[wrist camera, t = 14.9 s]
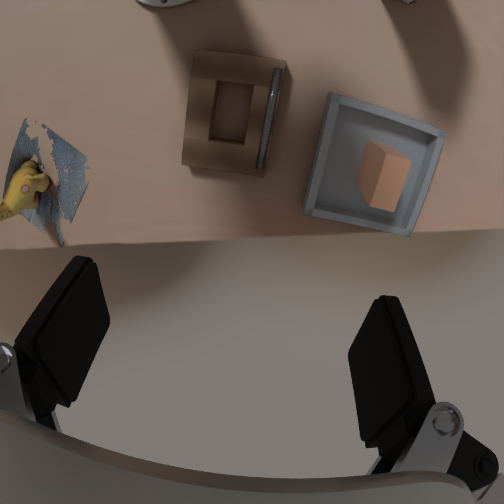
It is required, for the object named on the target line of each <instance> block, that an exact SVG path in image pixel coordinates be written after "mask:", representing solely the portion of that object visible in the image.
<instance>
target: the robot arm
mask: <svg viewBox="0 0 504 504" xmlns="http://www.w3.org/2000/svg"><path fill="white" fill-rule="evenodd" d="M138 1H140V2H142V3H144V4H146V5H149V6H153V7H165V8H168V7H175V6H180V5H183V4H187V3H189V2H191V1H194V0H168V1H167V2H166V3H165V1H166V0H138ZM109 325H110V316H109V312H108V309H107V305H106V301H105V297H104V294H103V289H102V285H101V281H100V277H99V272H98V268H97V265H96V263H94V262H93V260H92V259H91V258H90V257H84V256H75V257H73V259H72V260H71V261H70V263H69V264H68V265H67V266H66V268H65V269H64V270H63V272H62V273H61V274H60V275H59V277H58V278H57V279H56V281H55V282H54V284H53V285H52V286H51V288H50V289H49V290H48V292H47V293H46V295H45V296H44V297H43V299H42V300H41V302H40V303H39V304H38V306H37V307H36V309H35V310H34V312H33V313H32V315H31V316H30V318H29V319H28V321H27V322H26V324H25V325H24V327H23V328H22V330H21V332H20V333H19V335H18V336H17V338H16V339H15V344H14V346H13V347H12V346H11V345H10V344H8V343H4V342H1V343H0V504H504V475H503V474H502V473H500V474H498V470H499V464H498V460H497V457H496V455H495V454H494V453H493V452H492V451H491V450H490V449H489V448H487V447H486V446H484V445H483V444H482V443H480V442H479V441H477V440H476V439H475V438H473V437H472V436H470V435H469V434H468V433H466V432H465V431H464V430H463V429H464V419H463V417H462V414H461V412H460V411H459V409H458V408H457V407H455V406H454V405H453V404H450V403H448V402H439V403H436V401H435V398H434V394H433V391H432V388H431V385H430V382H429V379H428V375H427V373H426V369H425V367H424V364H423V361H422V358H421V355H420V352H419V349H418V347H417V344H416V341H415V339H414V336H413V333H412V331H411V328H410V325H409V323H408V320H407V318H406V315H405V313H404V310H403V308H402V306H401V303H400V301H399V299H398V297H396V296H386V295H382V296H380V297H379V298H378V299H375V300H374V302H373V303H372V306H371V308H370V310H369V312H368V314H367V316H366V318H365V320H364V322H363V324H362V326H361V328H360V330H359V332H358V334H357V335H356V337H355V339H354V341H353V343H352V345H351V347H350V349H349V352H348V360H349V366H350V372H351V378H352V384H353V389H354V396H355V402H356V409H357V416H358V423H359V430H360V437H361V440H362V441H365V446H366V448H374V447H378V451H379V456H378V458H377V459H376V461H375V462H374V464H373V465H372V467H371V468H370V470H369V471H368V472H367V474H366V475H363V476H350V477H335V478H306V479H291V478H262V477H247V476H235V475H226V474H218V473H211V472H204V471H197V470H190V469H185V468H179V467H175V466H170V465H164V464H160V463H155V462H152V461H147V460H143V459H139V458H135V457H132V456H128V455H125V454H121V453H118V452H114V451H111V450H108V449H104V448H102V447H98V446H95V445H92V444H90V443H87V442H84V441H81V440H79V439H76V438H73V437H70V436H68V435H65V434H63V433H62V431H61V429H60V426H59V423H58V420H57V417H56V413H55V410H54V409H55V407H56V404H60V405H62V406H65V407H67V408H69V407H70V405H71V402H74V401H76V399H77V397H78V395H79V392H80V390H81V387H82V385H83V383H84V380H85V378H86V376H87V373H88V371H89V369H90V367H91V364H92V362H93V360H94V358H95V355H96V353H97V351H98V349H99V347H100V345H101V342H102V340H103V338H104V336H105V334H106V332H107V330H108V328H109Z"/></svg>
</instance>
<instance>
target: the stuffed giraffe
mask: <svg viewBox="0 0 504 504" xmlns="http://www.w3.org/2000/svg"><path fill="white" fill-rule="evenodd" d="M26 120H27V118H26V119H25V120H24V122H23V124H22V127H21V129H20V132H19V135H18V138H17V141H16V143H15V146H14V149H13V152H12V156H11V159H10V163H9V167H8V173H7V176H6V181H5V188H4V193H3V198H4V199H3V202H2V204H1V205H0V220H4V219H7V218H10V217H12V216H15V215H17V214H21V215H22V216H23V217H25V218H26V219H27V220H28V221H29V222H30V223H31V224H33V225H34V222H35V226H37V227H38V229H39V228H40V229H41V231H42V233H43V234H44V233H45V231H44V230H43V229H44V228H43V226H44V224H45V223H44V222H45V220H44V219H46V217H47V219H48V216H49V214H50V217H49V219H50V218H51V220H50V222H52V223H53V224H54V226H55V231H56V233H57V237H58V243H59V244H60V246H61V247H62V244H63V242H64V239H63V237H62V233H61V231H60V226H59V221H58V217H59V218H61V217H62V216H63V214H62V212H61V210H60V209H59V208H60V207H58V206H57V205H56V202H57V200H58V202H60V204H61V208H62V211H63V212H64V214H65V215H64V218H65V219H67V220H68V219H70V222H71V221H72V218H73V216H74V214H75V211H76V207H78V204H79V202H80V199H81V197H82V195H83V193H84V191H85V189H86V187H87V184H88V183H87V184H86V185H85V184H84V183H85V175H84V171H85V169H89V168H90V167H89V166H87V168H85V167H84V163H85V162H87V161H86V160H87V159H86V156H84V155H83V154H82V153H80V152H78V151H76V150H75V149H74V148H73V147H72V146H71V145H69V144H68V143H67V142H66V141H64V140H63V139H61V138H60V137H58V136H57V135H56V134H55V133H54V132H52V131H51V130H50V129H49V128H47V134H48V136H49V139H50V140H51V138H52V139H53V143H54V144H53V145H52V146H53V149H54V150H53V151H54V152H53V151H52V153H51V155H52V154H53V158H55V159H54V160H53V161H55V166H56V169H57V170H59V172H58V171H57V173H58V176H59V180H60V181H59V183H60V185H59V186H58V187H55V188H58V189H57V193H56V194H57V195H58V196H57V197H58V198H57V200H56V201H55V199H56V197H55V198H54V195H53V193H52V191H51V194H50V195H51V202H50V201H49V198H45V197H46V195H45V191H46V190H48V188H49V186H51V180H50V178H49V177H48V176H47V175H46V174H45V173H43V172H38V165H40V166H41V165H42V161H41V157H40V154H39V150H40V148H39V149H38V147H37V146H38V141H39V140H37V139H38V137H37V138H35V139H31V141H30V137H28V135H27V134H26V132H25V131H26V128H27V127H29V125H28V124H27V123H26ZM35 123H36V121H35ZM41 127H43V128H44V129H45V127H46V126H44V124H43V125H42V126H41ZM33 152H34V153H35V154H36V155H37V158H38V165H37V163H36V162H35V161H33V160H30V159H31V158H32V157H33V155H34V153H33ZM32 154H33V155H32ZM62 162H64V164H63V163H62ZM43 165H44V164H43ZM65 165H66V168H65V167H64V166H65ZM62 166H63V167H62ZM69 167H71V169H70V168H69ZM43 168H44V167H43ZM67 168H68V169H69V170H67V171H68V173H67V172H66V173H64V172H63V170H64V169H67ZM64 171H65V170H64ZM69 171H70V172H69ZM61 172H62V174H61ZM68 174H69V175H68ZM61 175H62V176H61ZM64 175H66V176H67V177H65V176H64ZM62 177H63V178H62ZM65 178H66V180H68V182H66V180H65V181H64V180H63V179H65ZM69 179H70V180H69ZM62 182H63V183H62ZM64 184H65V185H64ZM67 185H68V188H67ZM59 187H60V188H59ZM50 189H51V188H50ZM47 196H48V195H47ZM74 201H76V204H75V203H74ZM58 202H57V204H58ZM51 203H52V204H51ZM55 205H56V206H57V207H56V206H55ZM58 205H59V204H58ZM27 217H28V218H27ZM47 219H46V220H47ZM33 220H34V221H33ZM32 221H33V222H32ZM48 223H49V222H48ZM52 223H51V224H52Z"/></svg>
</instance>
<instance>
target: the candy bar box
mask: <svg viewBox="0 0 504 504" xmlns="http://www.w3.org/2000/svg"><path fill="white" fill-rule="evenodd" d="M402 1H404V2H406V3H408V4H411V3H413V2H415V1H417V0H402Z"/></svg>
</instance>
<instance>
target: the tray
mask: <svg viewBox="0 0 504 504" xmlns="http://www.w3.org/2000/svg"><path fill="white" fill-rule="evenodd" d="M445 135H446V132H445V131H442V130H440V129H438V128H435V127H433V126H430V125H428V124H425V123H423V122H420V121H418V120H415V119H413V118H410V117H407V116H405V115H402V114H399V113H396V112H393V111H390V110H388V109H385V108H382V107H378V106H375V105H372V104H369V103H366V102H362V101H359V100H356V99H352V98H349V97H345V96H341V95H338V94H334V93H330V92H329V93H328V98H327V102H326V107H325V111H324V116H323V120H322V125H321V129H320V134H319V138H318V142H317V147H316V151H315V155H314V160H313V164H312V168H311V172H310V176H309V180H308V184H307V188H306V193H305V197H304V201H303V205H302V209H303V214H304V215H309V216H314V217H319V218H324V219H329V220H334V221H339V222H343V223H348V224H353V225H358V226H362V227H367V228H371V229H376V230H380V231H385V232H389V233H393V234H398V235H402V236H406V237H410V234H411V232H412V229H413V227H414V224H415V222H416V220H417V217H418V214H419V212H420V209H421V207H422V204H423V201H424V199H425V196H426V193H427V191H428V188H429V185H430V182H431V179H432V176H433V173H434V170H435V167H436V164H437V161H438V158H439V155H440V152H441V148H442V145H443V142H444V138H445ZM368 139H370V140H373V141H376V142H380V143H383V144H386V145H389V146H391V147H392V148H394V149H395V150H397V151H398V152H399V153H401V154H402V155H404V156H405V157H407V158H408V159H409V160H411V161H412V162H411V165H410V168H409V171H408V174H407V177H406V180H405V183H404V186H403V189H402V192H401V194H400V197H399V200H398V203H397V206H396V208H395V211H394V212H391V211H387V210H383V209H379V208H375V207H371V206H369V204H368V203H367V201H366V200H365V198H364V196H363V195H362V193H361V192H360V190H359V189H358V187H357V186H356V184H355V182H356V179H357V175H358V172H359V169H360V165H361V162H362V158H363V155H364V151H365V148H366V144H367V140H368Z"/></svg>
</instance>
